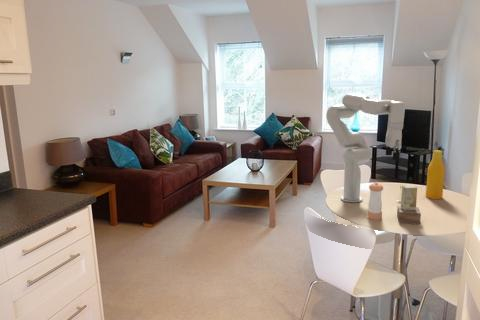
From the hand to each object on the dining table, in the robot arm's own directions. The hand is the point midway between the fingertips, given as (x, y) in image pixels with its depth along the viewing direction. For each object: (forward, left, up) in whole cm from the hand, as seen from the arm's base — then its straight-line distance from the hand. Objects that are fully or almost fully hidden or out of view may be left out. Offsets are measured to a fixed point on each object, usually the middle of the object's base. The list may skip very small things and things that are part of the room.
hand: (392, 157), depth 206 cm
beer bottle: (-26, +38, -31) cm, 55 cm away
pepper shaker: (+6, -10, -31) cm, 33 cm away
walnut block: (+11, +6, -31) cm, 34 cm away
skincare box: (+11, +6, -26) cm, 28 cm away
